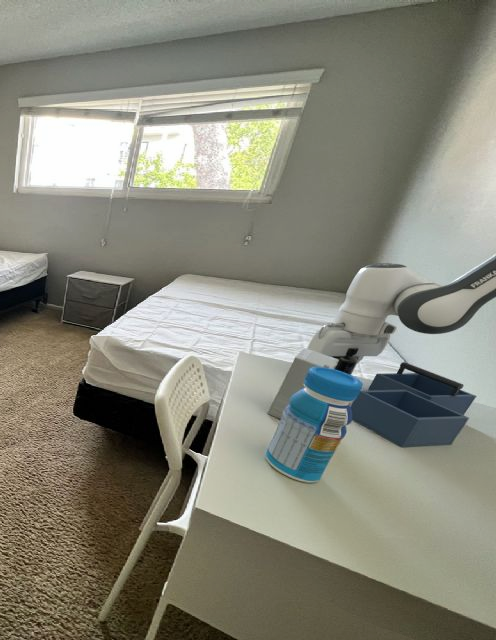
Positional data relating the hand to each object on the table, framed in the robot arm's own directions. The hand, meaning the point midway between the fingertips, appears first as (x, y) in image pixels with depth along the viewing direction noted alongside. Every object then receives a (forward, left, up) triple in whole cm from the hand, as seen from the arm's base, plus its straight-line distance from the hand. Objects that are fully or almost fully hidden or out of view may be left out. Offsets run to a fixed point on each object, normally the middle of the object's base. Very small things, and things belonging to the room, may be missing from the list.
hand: (335, 368), depth 97 cm
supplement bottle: (0, 0, -5) cm, 5 cm away
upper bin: (-9, +12, -5) cm, 16 cm away
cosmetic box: (+29, +14, -5) cm, 32 cm away
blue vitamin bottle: (+45, +29, -5) cm, 53 cm away
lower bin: (+7, +20, -5) cm, 22 cm away
